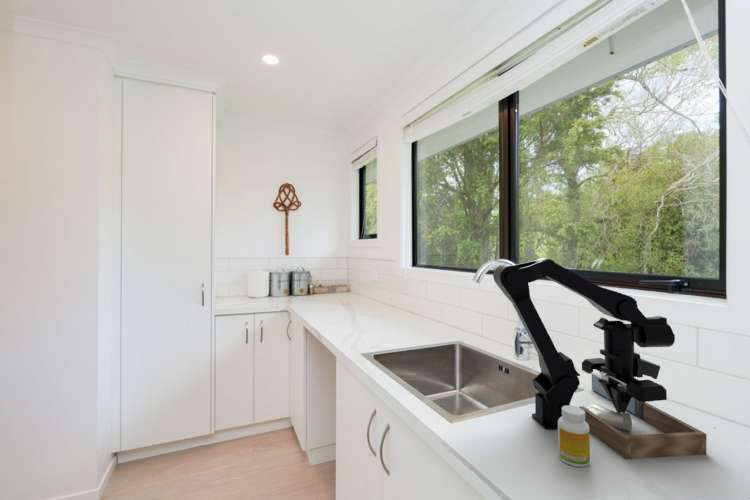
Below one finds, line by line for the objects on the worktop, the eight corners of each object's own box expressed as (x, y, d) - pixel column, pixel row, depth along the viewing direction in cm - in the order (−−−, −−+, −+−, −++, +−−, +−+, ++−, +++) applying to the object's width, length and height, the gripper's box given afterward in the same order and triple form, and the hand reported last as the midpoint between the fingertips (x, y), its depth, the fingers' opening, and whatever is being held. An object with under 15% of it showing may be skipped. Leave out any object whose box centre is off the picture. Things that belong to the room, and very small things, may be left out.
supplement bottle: (594, 469, 65) (594, 417, 65) (563, 466, 66) (562, 415, 66) (583, 452, 71) (583, 404, 70) (554, 449, 72) (554, 402, 71)
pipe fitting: (584, 416, 86) (590, 427, 80) (584, 399, 86) (589, 410, 80) (623, 421, 83) (632, 434, 77) (622, 404, 83) (631, 416, 77)
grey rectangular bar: (591, 389, 100) (591, 373, 100) (596, 389, 100) (596, 373, 100) (634, 414, 85) (634, 396, 85) (640, 414, 86) (640, 395, 85)
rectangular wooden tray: (625, 459, 68) (625, 433, 68) (573, 419, 84) (573, 398, 84) (707, 453, 70) (707, 428, 70) (641, 415, 85) (641, 395, 85)
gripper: (690, 358, 73) (692, 432, 73) (620, 334, 91) (621, 393, 92) (640, 362, 72) (642, 437, 72) (579, 337, 90) (581, 397, 91)
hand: (620, 413), depth 82 cm, fingers closed
